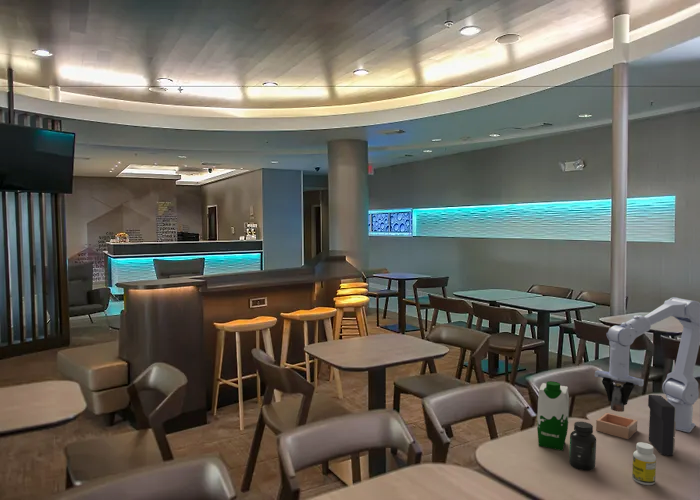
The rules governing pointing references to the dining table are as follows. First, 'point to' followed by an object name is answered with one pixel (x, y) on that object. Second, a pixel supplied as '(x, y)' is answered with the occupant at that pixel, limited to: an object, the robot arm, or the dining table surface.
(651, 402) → the black box
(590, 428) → the supplement bottle
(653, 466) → the supplement bottle
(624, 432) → the tray
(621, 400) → the pepper mill
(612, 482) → the dining table surface
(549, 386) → the milk carton
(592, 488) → the dining table surface
